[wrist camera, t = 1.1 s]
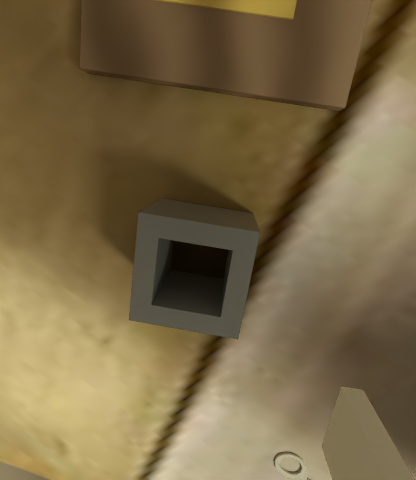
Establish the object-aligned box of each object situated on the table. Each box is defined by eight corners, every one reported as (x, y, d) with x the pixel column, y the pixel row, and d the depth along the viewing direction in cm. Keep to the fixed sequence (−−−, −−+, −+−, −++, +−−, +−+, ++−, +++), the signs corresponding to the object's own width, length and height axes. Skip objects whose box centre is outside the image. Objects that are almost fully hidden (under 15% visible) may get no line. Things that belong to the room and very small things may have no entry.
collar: (252, 213, 26) (260, 232, 19) (236, 296, 28) (238, 339, 22) (162, 198, 26) (138, 212, 20) (153, 281, 29) (128, 320, 22)
